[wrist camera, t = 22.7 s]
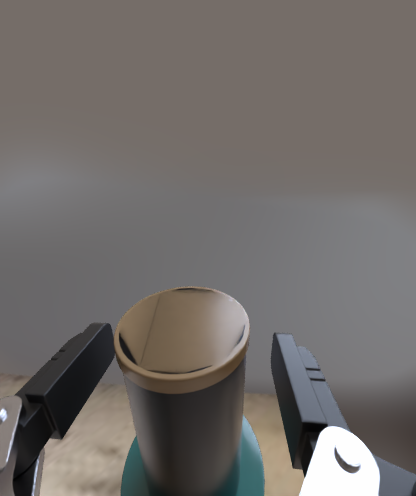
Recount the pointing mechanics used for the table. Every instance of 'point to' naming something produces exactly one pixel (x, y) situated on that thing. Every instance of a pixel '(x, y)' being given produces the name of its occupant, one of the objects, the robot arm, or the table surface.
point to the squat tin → (250, 468)
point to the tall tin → (186, 388)
